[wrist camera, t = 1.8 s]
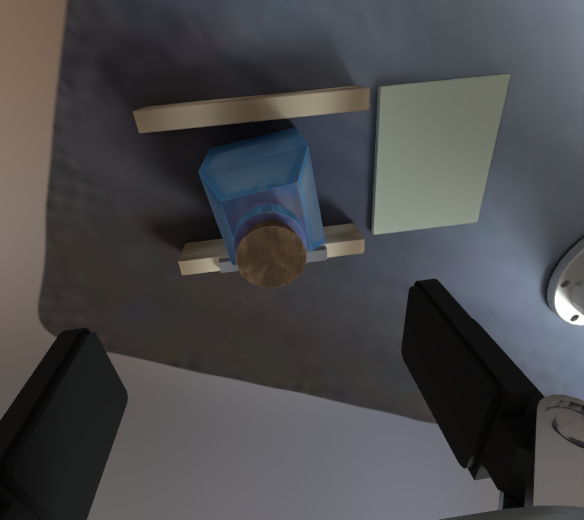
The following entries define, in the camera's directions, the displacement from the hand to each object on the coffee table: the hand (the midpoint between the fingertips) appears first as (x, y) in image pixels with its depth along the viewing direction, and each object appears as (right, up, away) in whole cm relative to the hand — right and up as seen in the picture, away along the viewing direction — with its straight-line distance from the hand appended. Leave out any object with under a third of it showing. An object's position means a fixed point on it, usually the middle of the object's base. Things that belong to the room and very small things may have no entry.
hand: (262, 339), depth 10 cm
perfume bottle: (-1, +9, +15) cm, 17 cm away
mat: (+12, +10, +15) cm, 22 cm away
